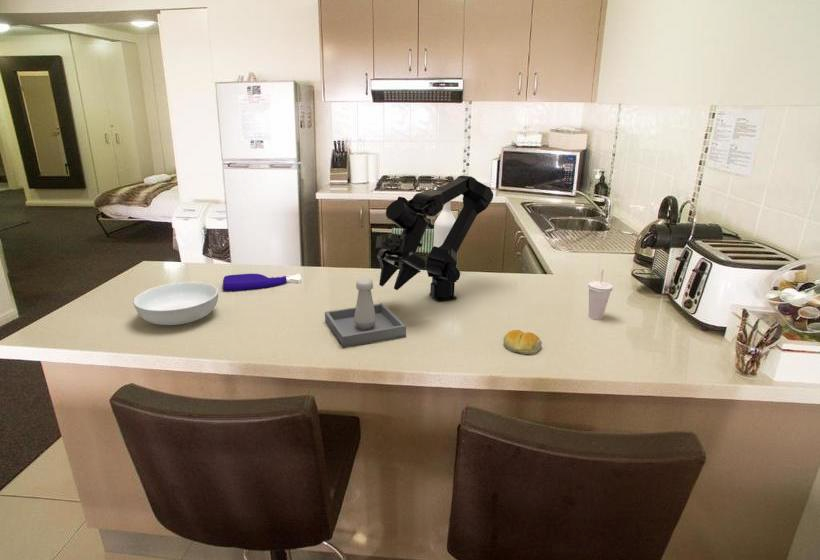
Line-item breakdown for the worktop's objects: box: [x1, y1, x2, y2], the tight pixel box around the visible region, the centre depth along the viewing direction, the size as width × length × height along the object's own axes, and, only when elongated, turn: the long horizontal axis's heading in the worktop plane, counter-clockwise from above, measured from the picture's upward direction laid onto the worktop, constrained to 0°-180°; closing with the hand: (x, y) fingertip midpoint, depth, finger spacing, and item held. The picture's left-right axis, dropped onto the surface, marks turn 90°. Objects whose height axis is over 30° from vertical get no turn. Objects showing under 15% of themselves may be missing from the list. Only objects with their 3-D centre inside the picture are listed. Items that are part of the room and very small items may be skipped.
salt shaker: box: [354, 278, 376, 330], centre depth 127 cm, size 6×6×13 cm
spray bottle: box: [222, 273, 303, 292], centre depth 161 cm, size 3×11×24 cm
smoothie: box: [587, 268, 613, 321], centre depth 137 cm, size 6×6×14 cm
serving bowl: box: [132, 281, 219, 326], centre depth 134 cm, size 21×21×7 cm
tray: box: [324, 302, 407, 349], centre depth 129 cm, size 17×17×3 cm
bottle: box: [433, 200, 457, 268], centre depth 171 cm, size 8×8×30 cm
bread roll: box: [503, 329, 543, 355], centre depth 121 cm, size 8×9×4 cm
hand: (387, 287), depth 133 cm, fingers open, 9 cm apart
